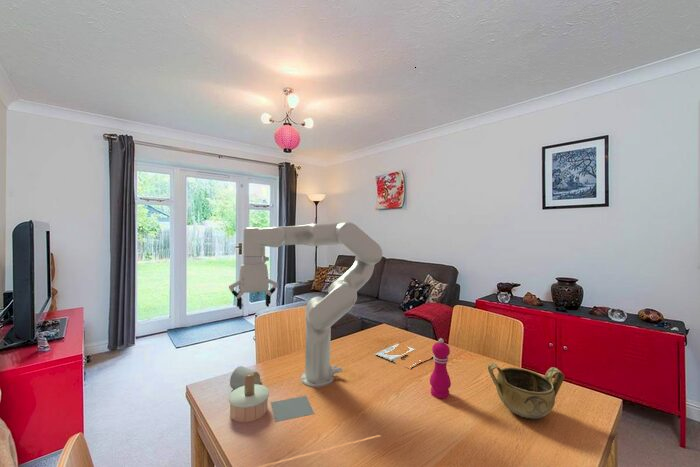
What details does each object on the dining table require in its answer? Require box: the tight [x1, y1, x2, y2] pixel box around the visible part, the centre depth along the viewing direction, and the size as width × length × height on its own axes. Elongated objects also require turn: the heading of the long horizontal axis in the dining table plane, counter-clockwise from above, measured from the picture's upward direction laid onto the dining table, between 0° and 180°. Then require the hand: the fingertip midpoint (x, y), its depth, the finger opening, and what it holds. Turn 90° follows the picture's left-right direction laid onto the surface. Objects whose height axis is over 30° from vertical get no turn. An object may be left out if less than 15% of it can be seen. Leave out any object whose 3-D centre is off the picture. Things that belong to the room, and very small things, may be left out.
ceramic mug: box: [229, 365, 262, 390], centre depth 112 cm, size 11×8×8 cm
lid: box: [228, 373, 270, 408], centre depth 97 cm, size 12×12×8 cm
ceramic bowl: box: [487, 362, 565, 420], centre depth 100 cm, size 22×17×15 cm
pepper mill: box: [429, 338, 452, 399], centre depth 110 cm, size 7×7×20 cm
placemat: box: [270, 395, 315, 423], centre depth 99 cm, size 12×11×1 cm
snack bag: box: [374, 343, 421, 367], centre depth 141 cm, size 19×20×2 cm
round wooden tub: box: [229, 397, 269, 423], centre depth 97 cm, size 11×11×5 cm
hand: (253, 307), depth 113 cm, fingers open, 9 cm apart
